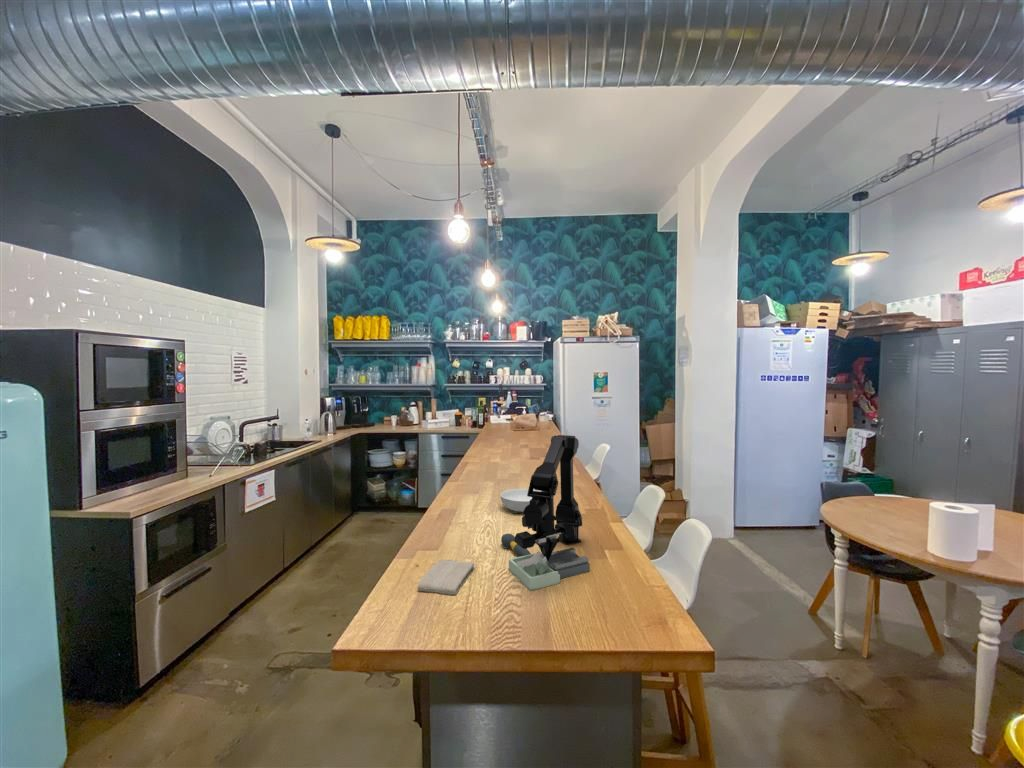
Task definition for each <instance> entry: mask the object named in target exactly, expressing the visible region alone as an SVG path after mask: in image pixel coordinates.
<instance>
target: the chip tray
mask: <svg viewBox="0 0 1024 768" xmlns="http://www.w3.org/2000/svg"><path fill="white" fill-rule="evenodd" d="M535 554H536V553H531V554H530V555H525V556H521V557H519V556H517V557H512V558H509V559H508V571H509V572H510V573H511V574H512V575H513V576H514V577H515V578H516V579H518V580H519V582H521V583H522V585H524V587H526V589H528V590H529V591H530V592H531V591H535V590H538V589H542V588H546V587H550V586H553V585H557V584H560V583H561V579H560V575H559V574H558V571H554V570H553V569H551V568H550V567H549V568H548V569H547V570H546V571H544V572H543V573H542V574H541V575H540V574H539V573H538V572H536V576H534V577H531V576H530V575H528V574H527V573H526V572H525V571H524V570H523V569H522V568H521V567H519V566H518V565H517V562H518V561H522V560H526V559H530V558H531V557H532V556H533V555H535Z"/></svg>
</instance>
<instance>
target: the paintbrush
mask: <svg viewBox="0 0 1024 768" xmlns="http://www.w3.org/2000/svg"><path fill="white" fill-rule="evenodd" d="M500 542H501V545H502V546H503V547H504V548H505V549H512V552H513V553H514V554H515V555H516V556H517V557H521V556H525V555H530V554H532V553H531V552H530V551H529V548H527V549H523V548H522V547H520V546H519V545H518V544H517V543H515V536H514V534H513V533H504V534H503V535H502V536H501V538H500Z"/></svg>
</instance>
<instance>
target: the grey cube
mask: <svg viewBox="0 0 1024 768" xmlns="http://www.w3.org/2000/svg"><path fill="white" fill-rule="evenodd" d="M530 560H531V561H532V562H534V563H535V571H536V572H538V573H539V574H540V575H541V574H542V573H543V572H544V571H546V570H547V569H548V568H549V567H550V565H549V563H548V561H547V559H546V557H545V556H544V555H543V554H542V552H541V551H537V552H536V553H535V555H533V556H532V557H531V558H530Z"/></svg>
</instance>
